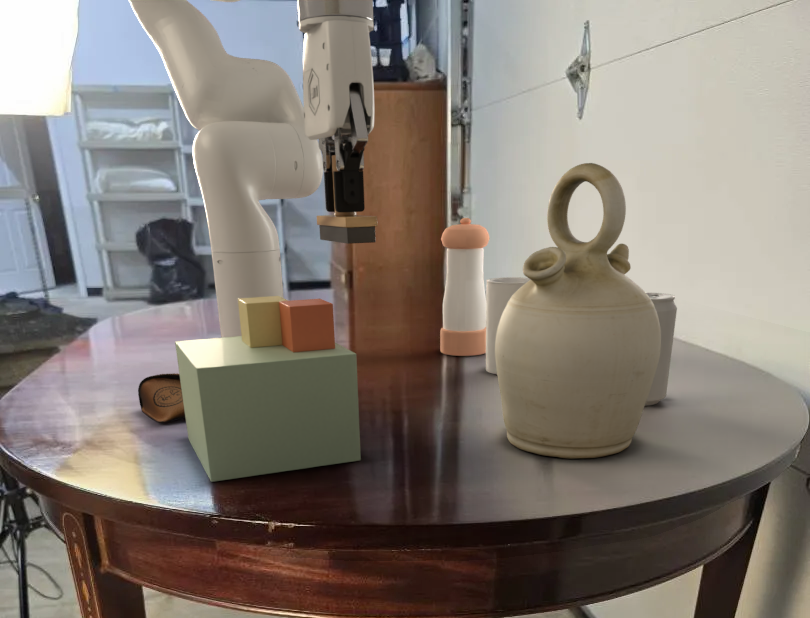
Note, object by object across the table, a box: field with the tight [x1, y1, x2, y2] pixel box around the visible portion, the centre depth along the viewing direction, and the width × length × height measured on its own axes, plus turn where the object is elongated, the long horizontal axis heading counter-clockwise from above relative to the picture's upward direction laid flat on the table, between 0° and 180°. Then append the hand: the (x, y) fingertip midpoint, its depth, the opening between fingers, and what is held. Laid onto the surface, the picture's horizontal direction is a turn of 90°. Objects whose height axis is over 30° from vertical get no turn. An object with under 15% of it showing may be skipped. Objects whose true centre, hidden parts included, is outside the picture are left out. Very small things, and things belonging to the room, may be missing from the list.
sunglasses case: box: [137, 372, 186, 423], centre depth 92 cm, size 18×7×7 cm
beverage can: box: [644, 292, 678, 407], centre depth 89 cm, size 6×6×12 cm
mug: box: [485, 276, 531, 375], centre depth 105 cm, size 10×7×12 cm, turn 119°
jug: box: [495, 162, 661, 460], centre depth 72 cm, size 15×16×25 cm
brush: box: [316, 155, 378, 245], centre depth 85 cm, size 10×4×9 cm, turn 24°
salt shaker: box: [439, 217, 490, 357], centre depth 116 cm, size 7×7×19 cm
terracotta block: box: [279, 298, 336, 352], centre depth 71 cm, size 4×4×4 cm
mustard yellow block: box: [238, 296, 289, 348], centre depth 73 cm, size 4×4×4 cm
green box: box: [174, 336, 362, 483], centre depth 75 cm, size 16×14×10 cm
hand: (345, 210), depth 85 cm, fingers closed on brush, 2 cm apart
